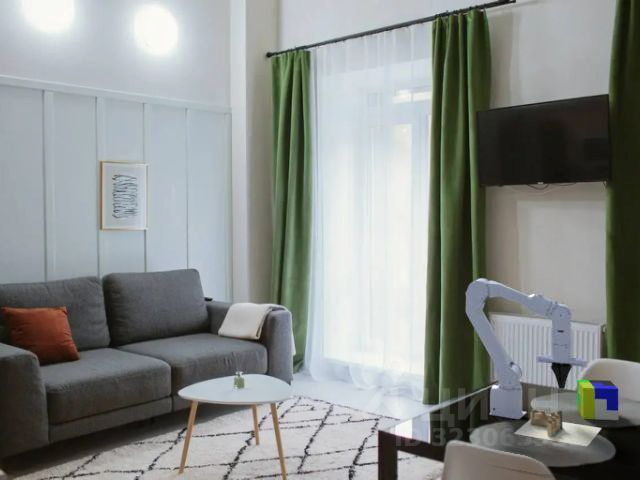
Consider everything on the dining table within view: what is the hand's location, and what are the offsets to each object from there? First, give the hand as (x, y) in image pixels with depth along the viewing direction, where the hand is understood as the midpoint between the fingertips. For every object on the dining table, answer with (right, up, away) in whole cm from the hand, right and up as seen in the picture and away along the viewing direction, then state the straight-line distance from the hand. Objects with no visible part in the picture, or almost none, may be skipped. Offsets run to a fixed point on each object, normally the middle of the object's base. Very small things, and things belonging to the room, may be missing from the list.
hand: (561, 387), depth 199 cm
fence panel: (-7, -10, -13) cm, 18 cm away
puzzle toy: (+12, -10, +4) cm, 16 cm away
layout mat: (-5, -10, -11) cm, 16 cm away
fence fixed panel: (-7, -10, -7) cm, 14 cm away
